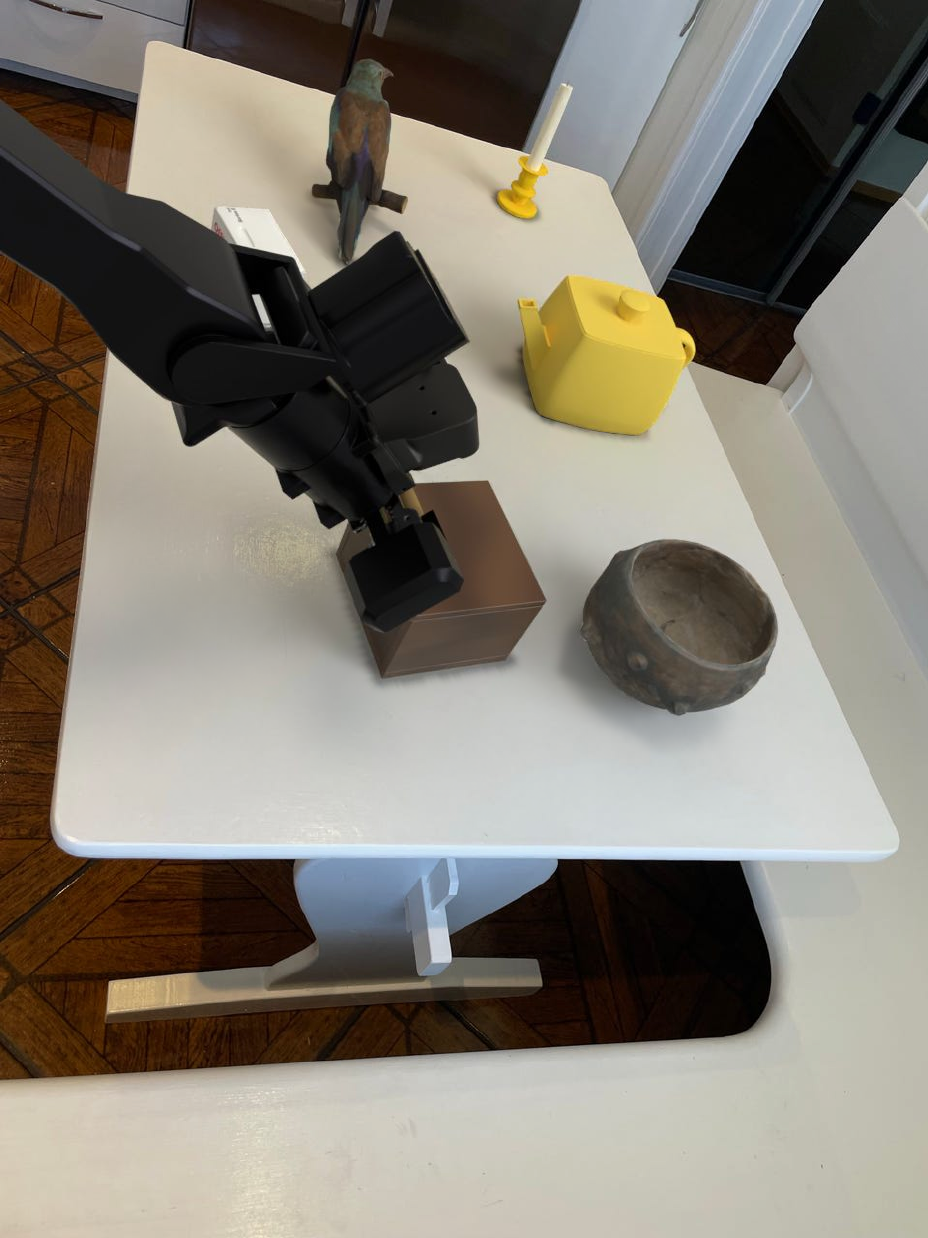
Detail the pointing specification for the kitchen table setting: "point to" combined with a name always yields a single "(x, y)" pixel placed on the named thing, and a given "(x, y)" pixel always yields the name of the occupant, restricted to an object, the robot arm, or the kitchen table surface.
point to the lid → (477, 549)
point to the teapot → (602, 355)
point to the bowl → (679, 626)
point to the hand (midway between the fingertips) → (421, 539)
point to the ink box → (253, 237)
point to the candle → (534, 162)
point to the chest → (439, 632)
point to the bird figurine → (359, 153)
